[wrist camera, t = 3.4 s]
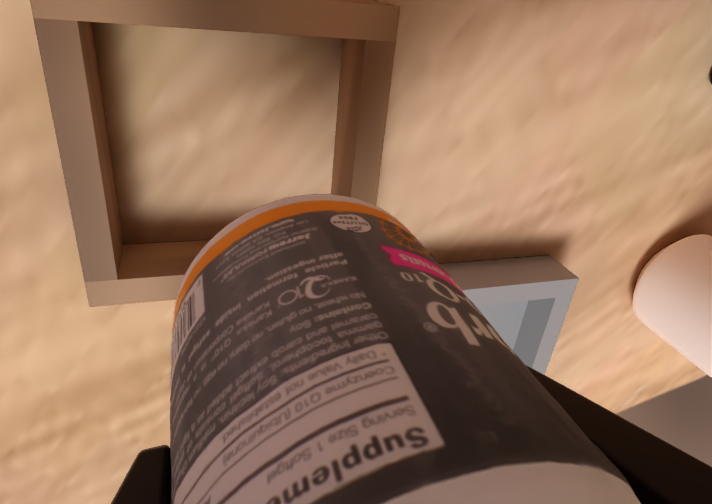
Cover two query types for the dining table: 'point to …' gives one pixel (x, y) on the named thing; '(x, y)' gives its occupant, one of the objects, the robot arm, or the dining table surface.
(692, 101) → the dining table surface
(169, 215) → the dining table surface
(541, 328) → the tray
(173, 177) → the dining table surface
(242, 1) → the socket collar
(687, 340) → the beverage can
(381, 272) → the pill bottle
